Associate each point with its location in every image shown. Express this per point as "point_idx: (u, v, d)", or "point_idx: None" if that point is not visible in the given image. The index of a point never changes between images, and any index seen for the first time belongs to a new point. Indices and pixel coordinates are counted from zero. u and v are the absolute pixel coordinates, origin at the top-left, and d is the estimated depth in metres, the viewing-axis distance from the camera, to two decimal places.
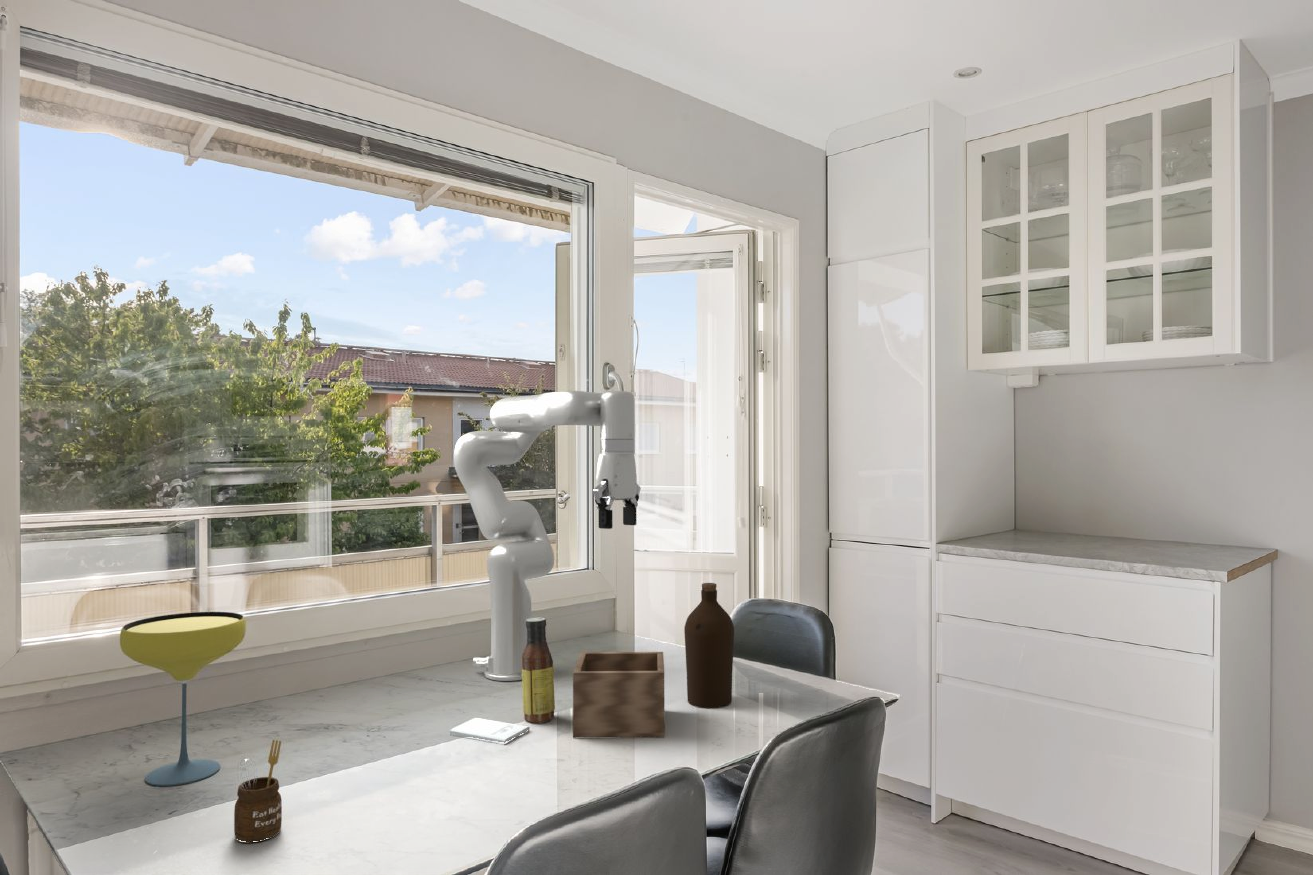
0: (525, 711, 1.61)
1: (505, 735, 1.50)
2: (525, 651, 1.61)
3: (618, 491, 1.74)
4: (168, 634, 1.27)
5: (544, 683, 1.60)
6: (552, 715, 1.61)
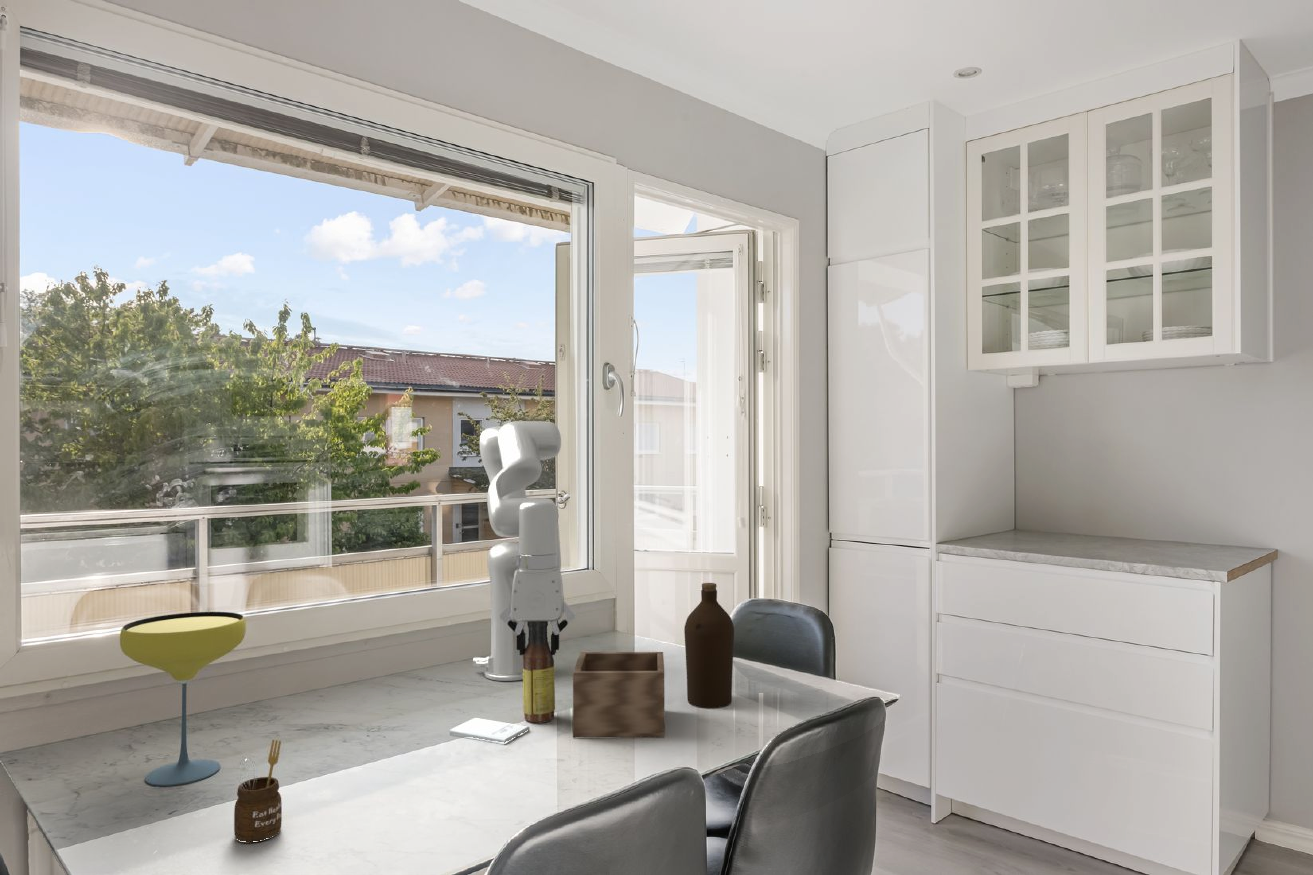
0: (525, 711, 1.61)
1: (505, 735, 1.50)
2: (526, 651, 1.61)
3: None
4: (168, 634, 1.27)
5: (545, 683, 1.60)
6: (552, 715, 1.61)
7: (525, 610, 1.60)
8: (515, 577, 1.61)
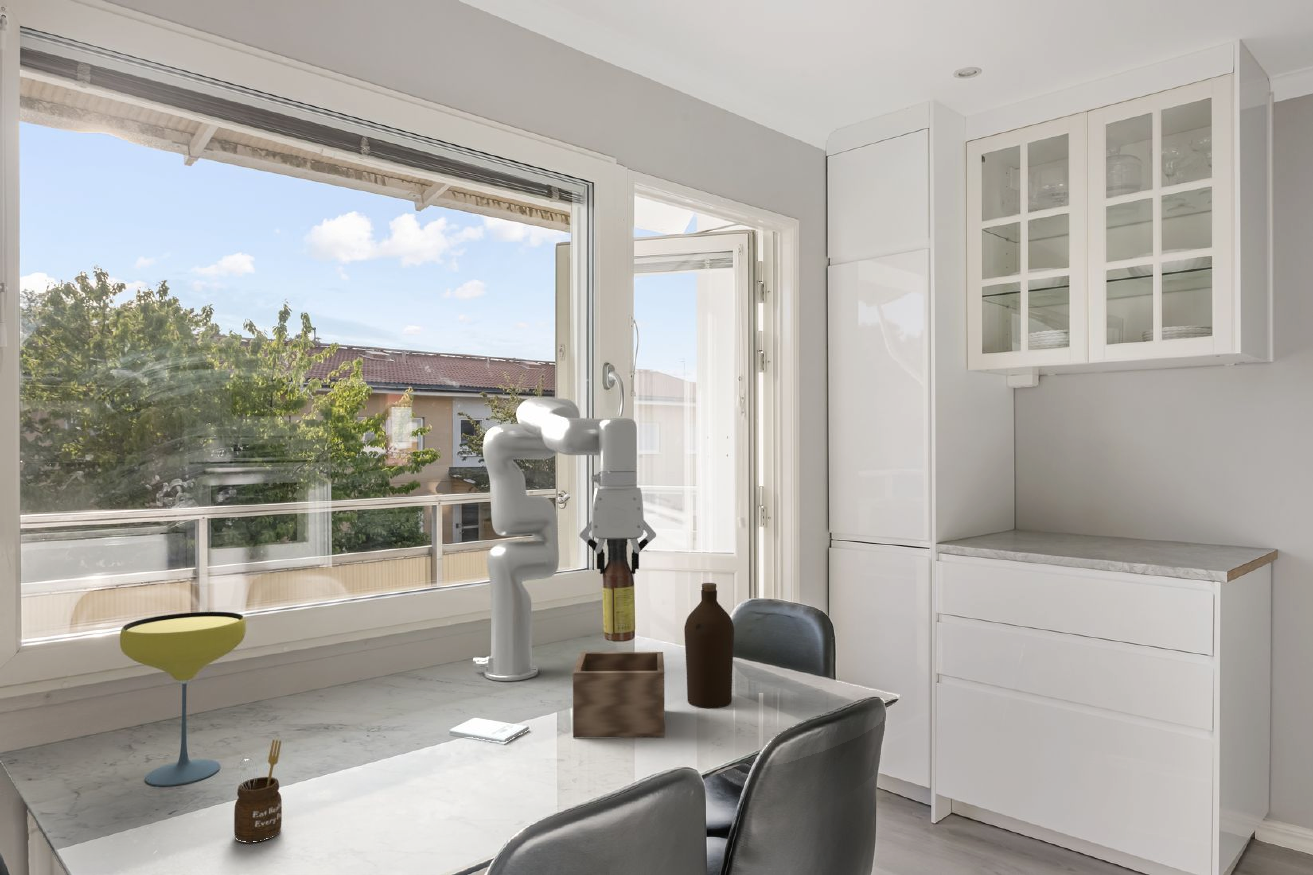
0: (606, 630, 1.58)
1: (505, 735, 1.50)
2: (607, 569, 1.59)
3: None
4: (168, 634, 1.27)
5: (626, 602, 1.58)
6: (633, 635, 1.59)
7: (606, 527, 1.58)
8: (596, 494, 1.58)
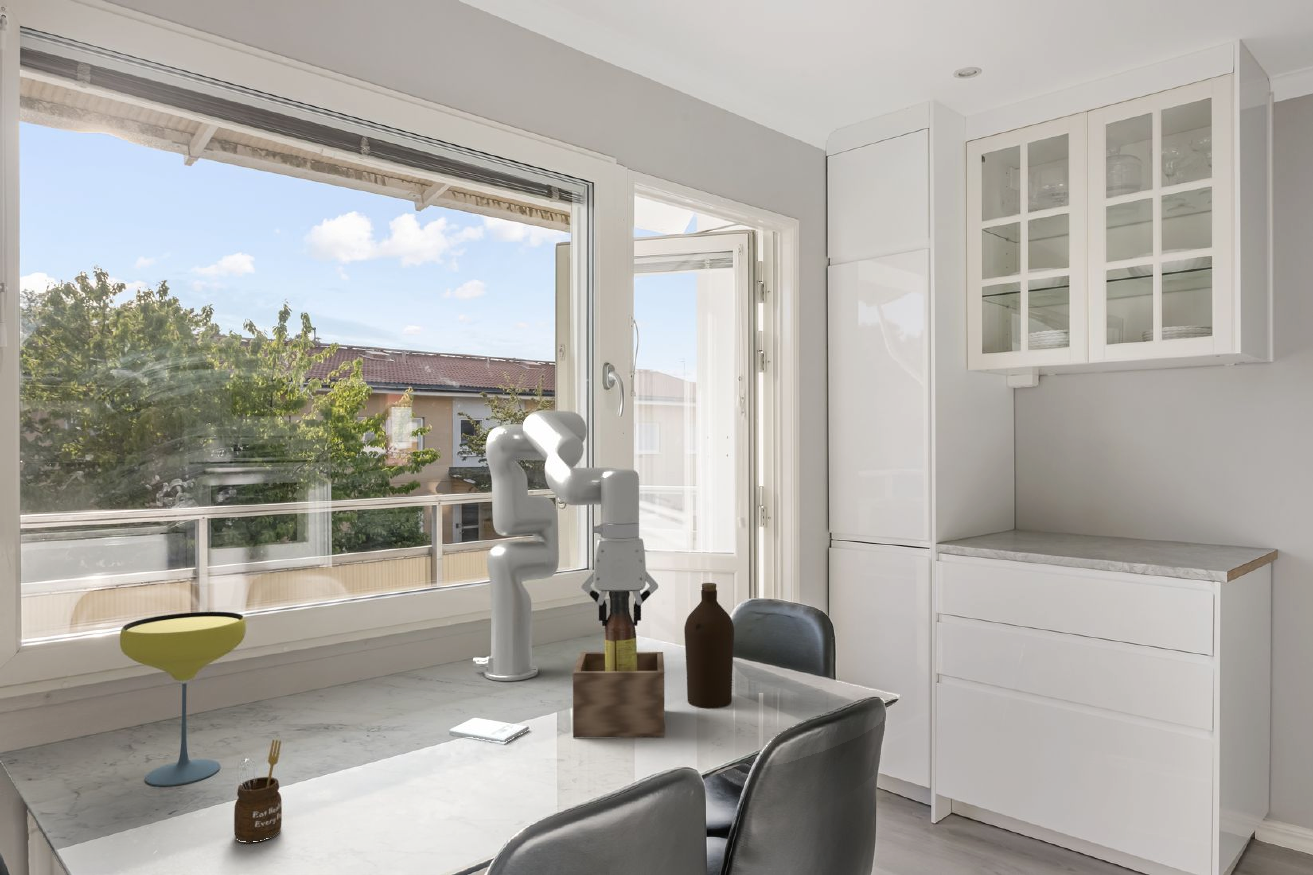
0: None
1: (505, 735, 1.50)
2: (609, 621, 1.59)
3: None
4: (168, 634, 1.27)
5: (629, 654, 1.57)
6: None
7: (608, 580, 1.57)
8: (598, 546, 1.58)
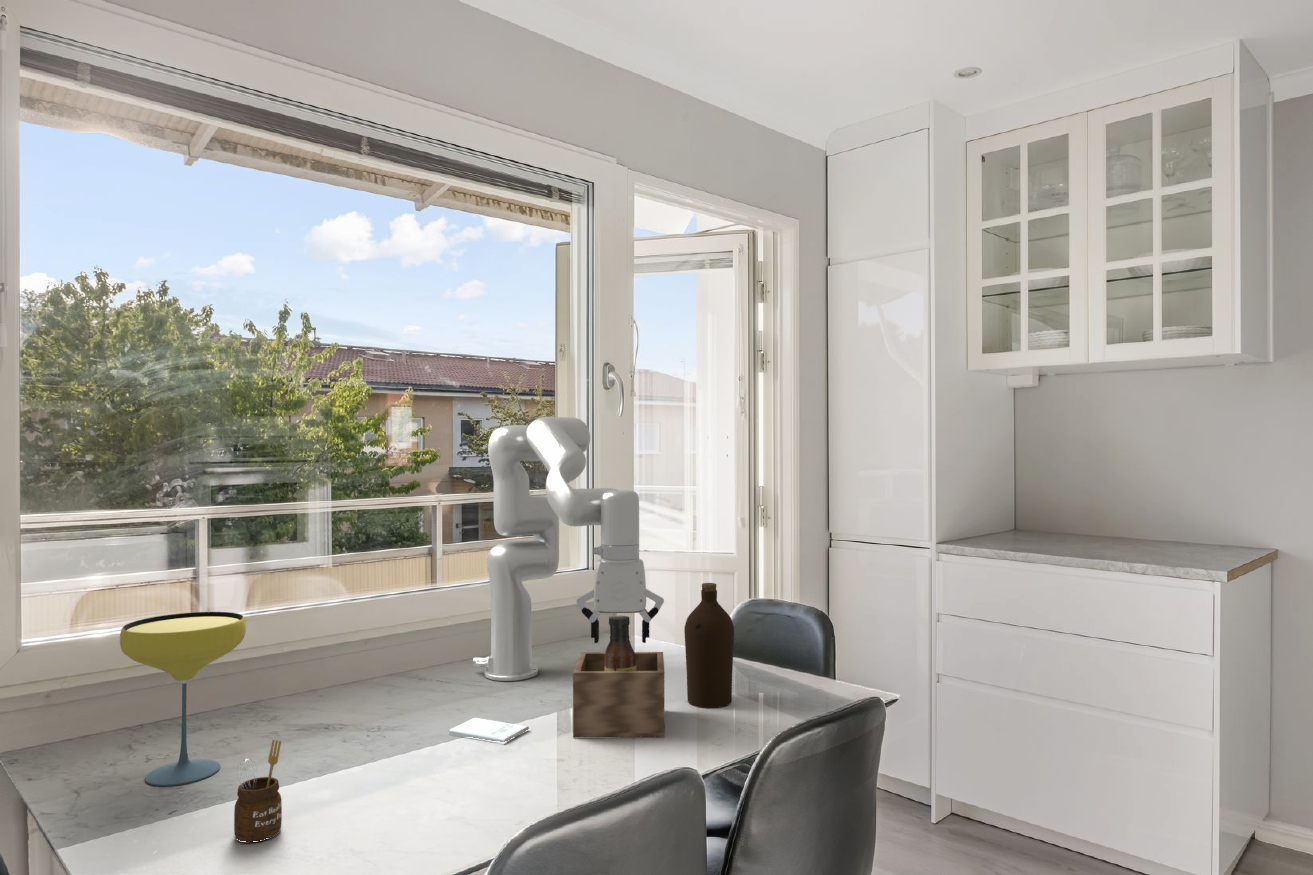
0: None
1: (505, 735, 1.50)
2: (609, 649, 1.59)
3: None
4: (168, 634, 1.27)
5: None
6: None
7: (608, 601, 1.57)
8: (598, 568, 1.58)
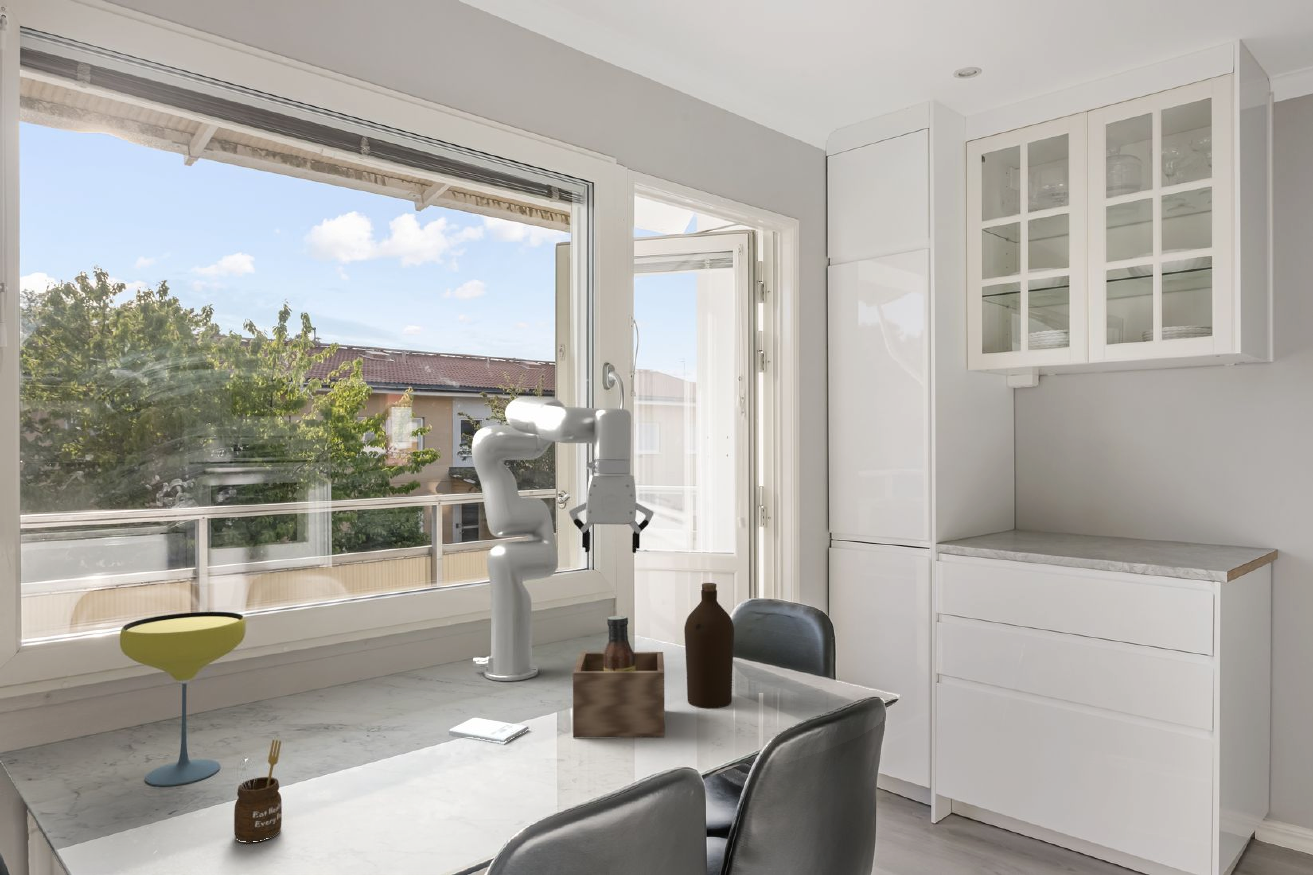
0: None
1: (505, 735, 1.50)
2: (607, 650, 1.59)
3: None
4: (168, 634, 1.27)
5: None
6: None
7: (600, 513, 1.65)
8: (590, 481, 1.65)
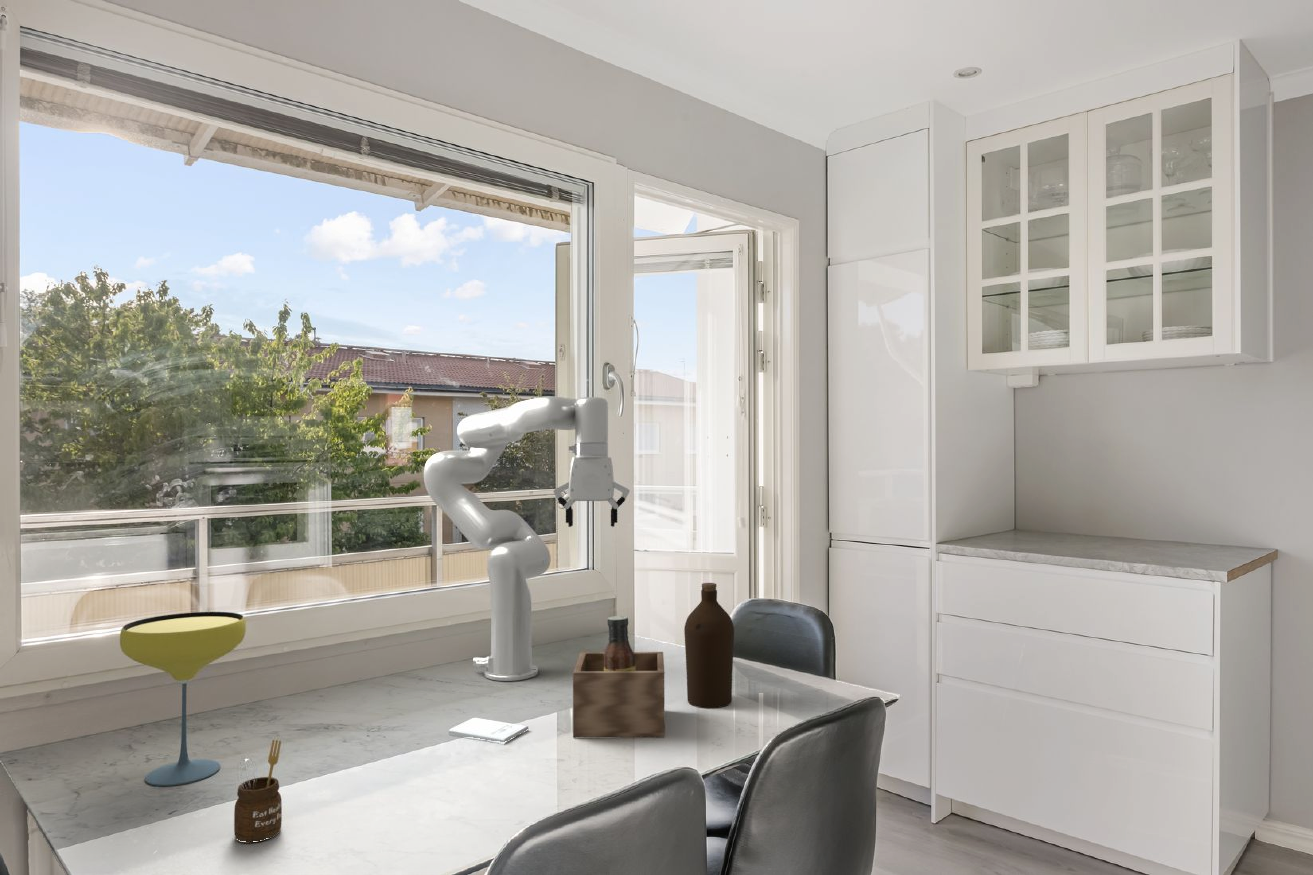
0: None
1: (504, 735, 1.50)
2: (608, 650, 1.59)
3: None
4: (168, 634, 1.27)
5: None
6: None
7: (581, 491, 1.84)
8: (572, 463, 1.84)
